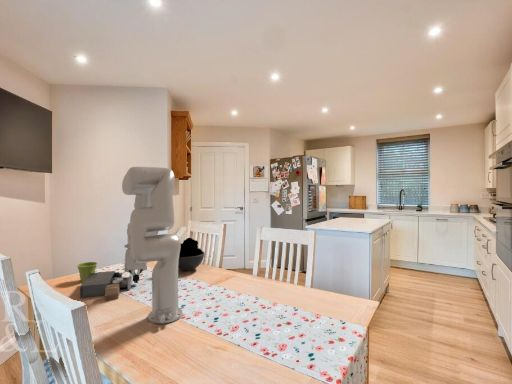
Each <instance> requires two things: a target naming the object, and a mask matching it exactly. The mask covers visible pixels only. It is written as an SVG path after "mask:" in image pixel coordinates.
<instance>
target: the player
mask: <svg viewBox="0 0 512 384" xmlns="http://www.w3.org/2000/svg"><path fill="white" fill-rule="evenodd" d="M118 277H119V278H123V272H120V271H117V272H116V270H111V271H99V272H95V273H90V274H89V275H88V277H87V278H86V279H85V281H84V282H82V283H80V285H79V299H85V298H93V297H95V298H96V297H102V296H104V297H105V288H106V286H107V285H115V284H118V283H114V284H110V282H111V280H112V278H118Z"/></svg>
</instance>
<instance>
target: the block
mask: <svg viewBox="0 0 512 384" xmlns="http://www.w3.org/2000/svg"><path fill="white" fill-rule="evenodd" d="M119 296H120V288H119V284H115V285H107V286H106V288H105V295H104V299H105V300H104V301H112V300H119Z"/></svg>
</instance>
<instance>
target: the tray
mask: <svg viewBox="0 0 512 384" xmlns="http://www.w3.org/2000/svg"><path fill="white" fill-rule="evenodd" d="M128 275H129V276H128V277H127V276H125V277H122V278H123V283H121V284H119V289H120V288H127V290H131V287H132V283H133V275H132V274H131V273H129V274H128Z"/></svg>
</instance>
